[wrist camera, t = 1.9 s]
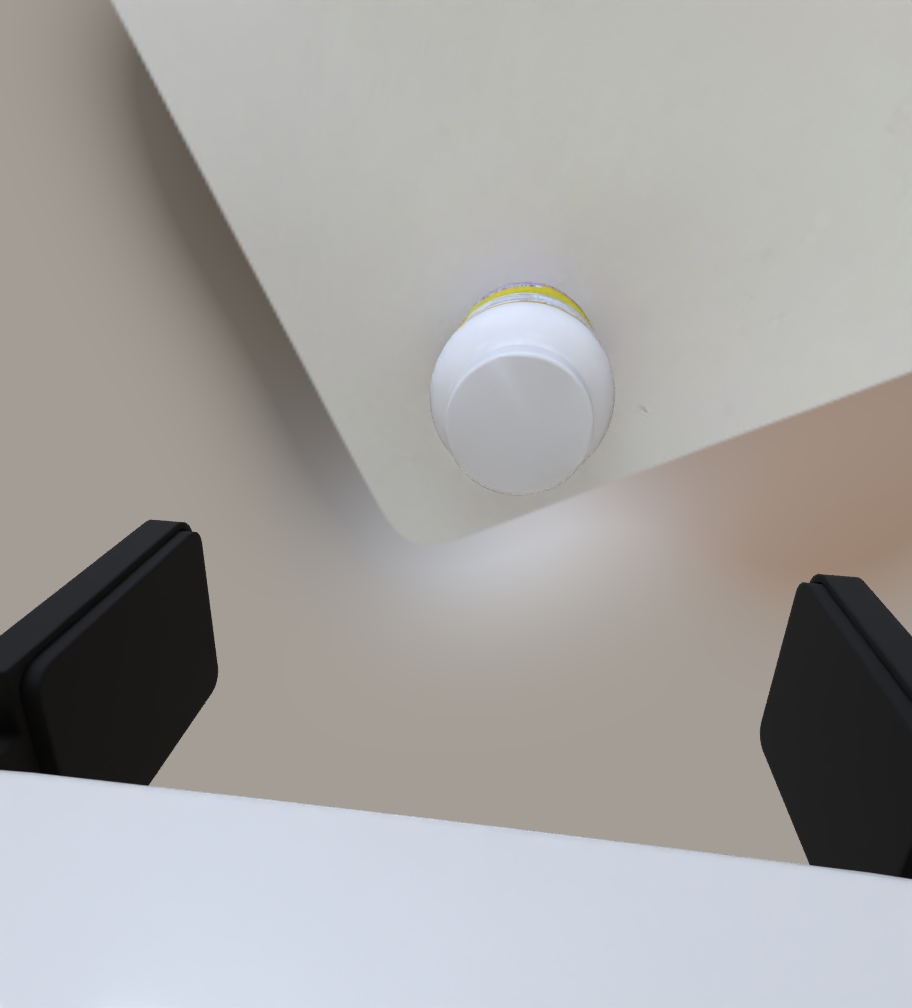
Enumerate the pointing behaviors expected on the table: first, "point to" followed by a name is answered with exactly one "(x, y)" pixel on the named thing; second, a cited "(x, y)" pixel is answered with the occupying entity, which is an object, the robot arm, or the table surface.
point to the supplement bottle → (522, 390)
